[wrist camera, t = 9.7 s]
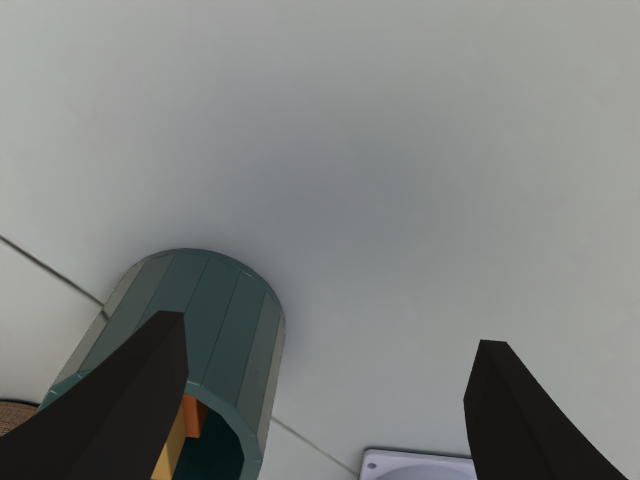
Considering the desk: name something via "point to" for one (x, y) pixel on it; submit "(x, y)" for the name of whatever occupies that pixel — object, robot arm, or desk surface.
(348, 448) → the desk surface
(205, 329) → the cup
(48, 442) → the robot arm
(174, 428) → the tan orange collared block
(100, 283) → the desk surface
